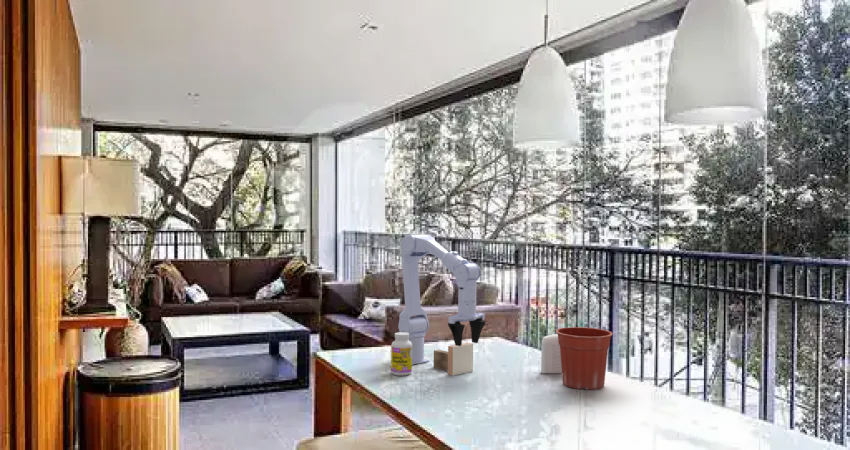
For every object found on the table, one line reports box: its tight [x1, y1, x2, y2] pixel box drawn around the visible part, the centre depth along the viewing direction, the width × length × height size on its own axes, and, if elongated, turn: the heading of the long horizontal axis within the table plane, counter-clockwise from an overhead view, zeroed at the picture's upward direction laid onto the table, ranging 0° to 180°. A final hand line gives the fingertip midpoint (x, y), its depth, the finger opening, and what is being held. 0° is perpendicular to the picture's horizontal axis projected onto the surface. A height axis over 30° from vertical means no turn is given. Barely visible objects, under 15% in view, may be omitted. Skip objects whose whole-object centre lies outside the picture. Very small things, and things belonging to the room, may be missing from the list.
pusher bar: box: [433, 349, 448, 371], centre depth 216 cm, size 8×2×6 cm, turn 42°
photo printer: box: [540, 333, 562, 374], centre depth 212 cm, size 10×4×12 cm, turn 98°
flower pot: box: [555, 326, 613, 391], centre depth 196 cm, size 16×16×16 cm
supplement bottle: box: [390, 331, 413, 377], centre depth 209 cm, size 7×7×13 cm
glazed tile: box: [447, 342, 474, 376], centre depth 211 cm, size 2×9×9 cm, turn 132°
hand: (466, 344), depth 208 cm, fingers open, 7 cm apart
